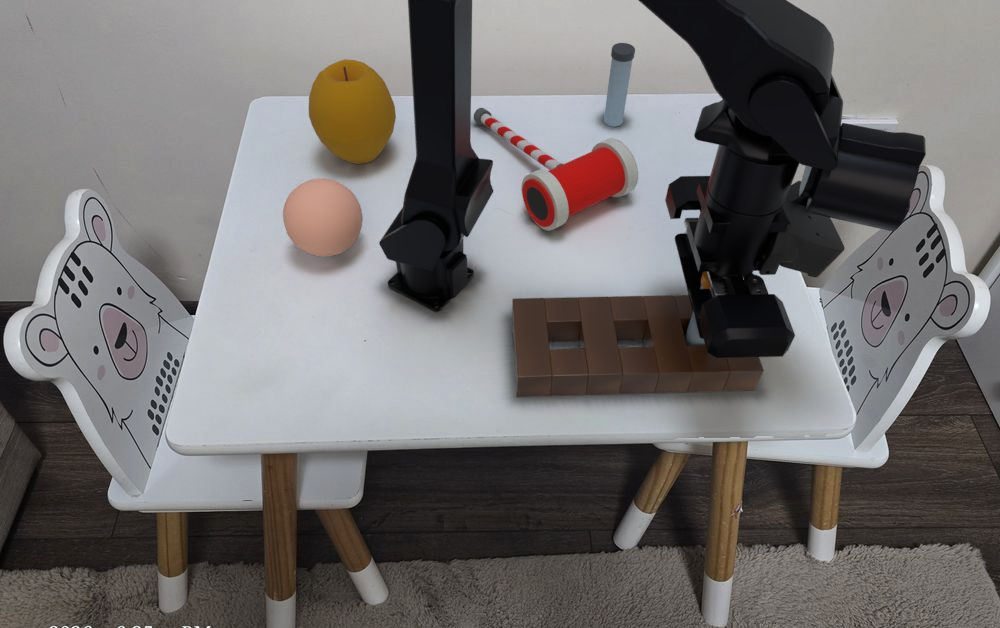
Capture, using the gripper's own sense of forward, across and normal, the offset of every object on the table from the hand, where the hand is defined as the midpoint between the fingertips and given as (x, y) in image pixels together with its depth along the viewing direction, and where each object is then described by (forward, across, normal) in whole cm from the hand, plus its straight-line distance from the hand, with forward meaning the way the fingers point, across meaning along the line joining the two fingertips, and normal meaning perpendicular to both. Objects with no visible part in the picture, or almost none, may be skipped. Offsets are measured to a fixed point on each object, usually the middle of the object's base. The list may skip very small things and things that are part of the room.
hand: (702, 325), depth 68 cm
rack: (+4, 0, +6) cm, 7 cm away
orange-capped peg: (+4, 0, 0) cm, 4 cm away
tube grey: (+4, +37, +3) cm, 38 cm away
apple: (+4, +31, +34) cm, 46 cm away
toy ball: (+4, +15, +36) cm, 39 cm away
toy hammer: (+4, +26, +12) cm, 29 cm away
